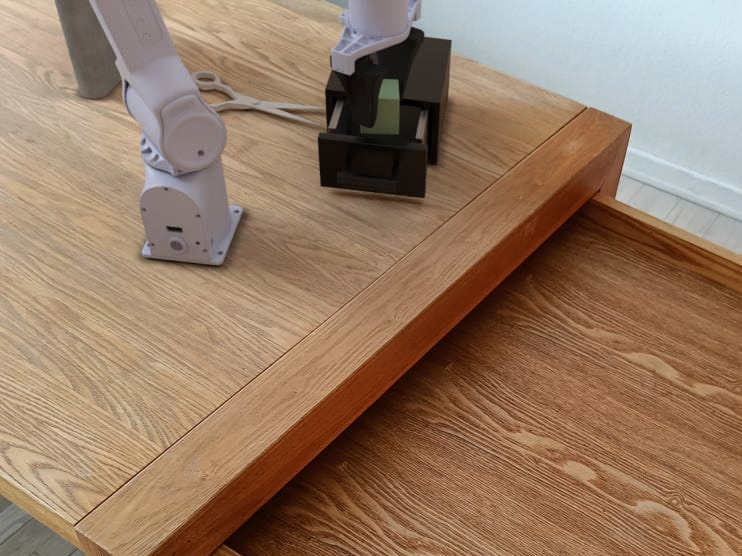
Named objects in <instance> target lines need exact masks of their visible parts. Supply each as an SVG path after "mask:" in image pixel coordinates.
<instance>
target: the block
mask: <svg viewBox="0 0 742 556" xmlns="http://www.w3.org/2000/svg"><path fill="white" fill-rule="evenodd" d="M361 133H367V134H396V135H398V134H399V83H398V80H396V79H383V82H382V85H381V88H380V93H379V98H378V108H377V117H376V122H375V125H374V126H373V127H372V128H367V127H365V126H362V125H361Z"/></svg>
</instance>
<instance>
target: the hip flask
mask: <svg viewBox="0 0 742 556" xmlns="http://www.w3.org/2000/svg"><path fill="white" fill-rule="evenodd" d="M53 1H54V5H55V8H56V11H57V15H58V19H59V22H60V26H61V30H62V32H63V37H64V40H65V41H64V42H65V44H66V48H67V51H68V55H69V59H70V62H71V65H72V68H73V73H74V76H75V81H76V84H77V87H78V90H79V91H78V92H79V94H80V96H82V98H84V99H88V100H96V99H97V100H99V99H101V98H104V97H106V96H107V95H108V94H109V93H111V91H113V89H115V87H117V85H118V84H119V83H120V82H122V78H121V75H120V73H119V70H118V68H117V66H116V64H115V62H116V60H117V56H116V54H115V52H114V50H113V48H112V46H111V44H110V42H109V40H108V38H107V36H106V34H105V32H104V30H103V28H102V26H101V24H100V22H99V20H98V18H97V16H96V14H95V12H94V10H93V8H92V5H91V3H90V1H89V0H53Z"/></svg>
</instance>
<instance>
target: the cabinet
mask: <svg viewBox="0 0 742 556" xmlns="http://www.w3.org/2000/svg"><path fill="white" fill-rule="evenodd" d="M452 43H453V40H452V39H448V38H439V37H432V36H424V41H423V43H422V45H421V46H420V48H419V50H418V52H417V54H416V56H415V58H414V61H413V63H412V66H411V69H410V73H409V77H408V80H407V84H406V88H405V92H404V96H403V99H402V101H401V102H400V103H399V105H405V106H413V107H422V108H430V109H432V115H431V131H430V136H429V142H428V154H427V165H432V166H437V165H438V161H439V154H440V150H441V145H442V137H443V132H444V126H445V120H446V114H447V109H448V102H449V92H450V91H449V90H450V74H451V60H452V59H451V58H452V46H453V45H452ZM370 59H373V63H374V64H377V65H379V64H378V58H377V54H376V52H373V53H371V54H370ZM324 97H325V98H324V99H325V100H324V101H325V108H326V109H325V116H326V117H325V118H326V133H329V125H330V122H331V119H332V116H333V112H334V109H335V106H336V103H337V100H338V98H346V99H347V96H346V93H345V91H344V88H343V86H342V84H341V82H340V80H339V79H338V77H337V75H336V74H335V72H334V71H333V70H332V69H331V70H330V73H329V76H328V80H327V82H326V85H325V88H324Z"/></svg>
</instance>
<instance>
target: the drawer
mask: <svg viewBox="0 0 742 556" xmlns="http://www.w3.org/2000/svg"><path fill="white" fill-rule="evenodd" d="M431 115H432V109H430V108H422V107H413V106H405V105H399V134H398V135H396V134H367V133H361V125H359V124H356V123H355V122H354V119H353V115H352V112H351V108H350V105H349V102H348V99H346V98H338V100H337V103H336V106H335V109H334V112H333V116H332V119H331V122H330V125H329V133H327V132H324V131H323V132H322V131H319V133H318V136H317V150H318V151H317V152H318V153H317V154H318V168H319V183H320V187H322V188H330V189H340V190H347V191H355V192H356V191H357V192H364V193H372V194H373V193H374V194H381V195H392V196H400V197H408V198H418V199H425V198H426V194H427V193H426V192H427V175H428V174H427V173H428V164H427V154H428V142H429V136H430V131H431Z"/></svg>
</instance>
